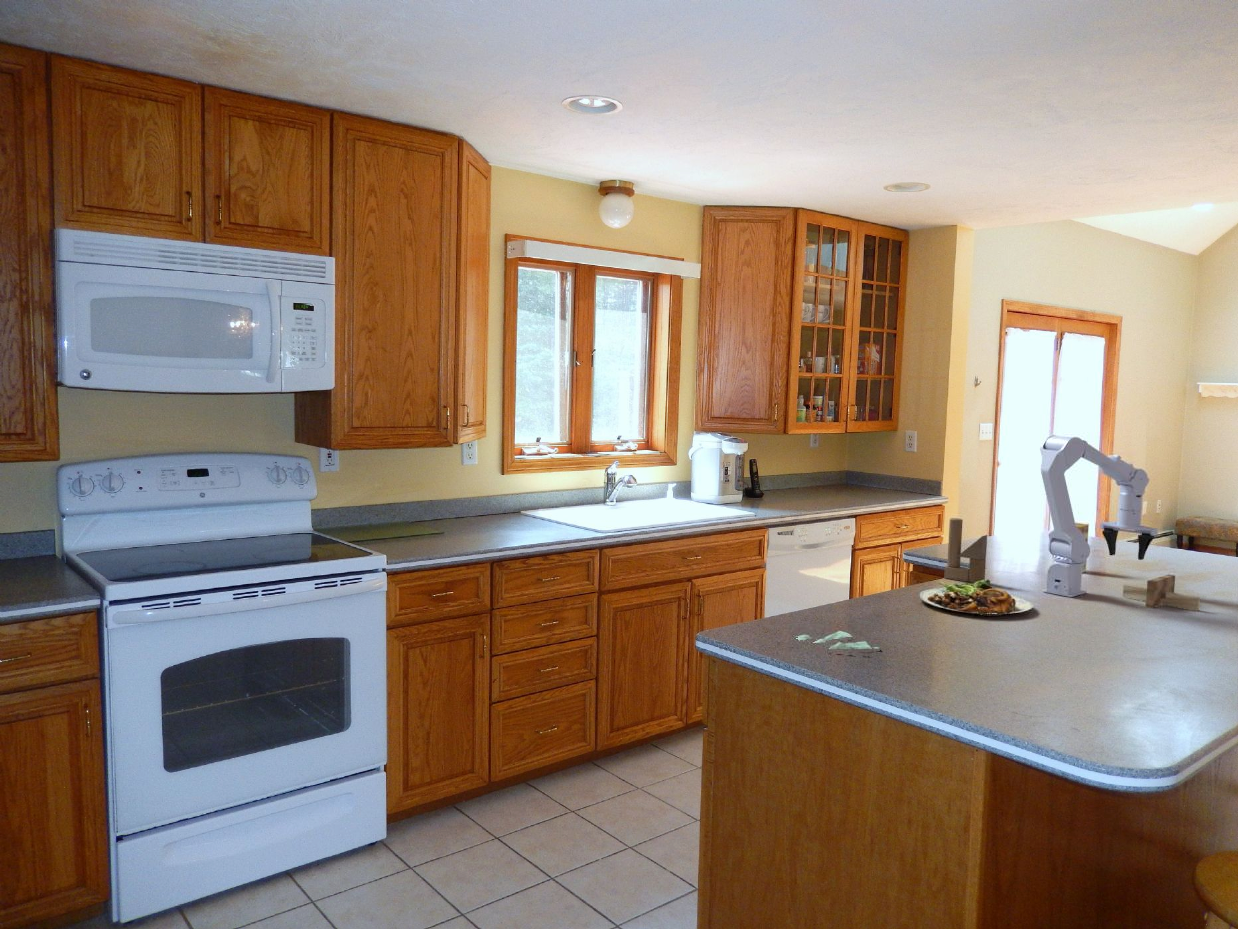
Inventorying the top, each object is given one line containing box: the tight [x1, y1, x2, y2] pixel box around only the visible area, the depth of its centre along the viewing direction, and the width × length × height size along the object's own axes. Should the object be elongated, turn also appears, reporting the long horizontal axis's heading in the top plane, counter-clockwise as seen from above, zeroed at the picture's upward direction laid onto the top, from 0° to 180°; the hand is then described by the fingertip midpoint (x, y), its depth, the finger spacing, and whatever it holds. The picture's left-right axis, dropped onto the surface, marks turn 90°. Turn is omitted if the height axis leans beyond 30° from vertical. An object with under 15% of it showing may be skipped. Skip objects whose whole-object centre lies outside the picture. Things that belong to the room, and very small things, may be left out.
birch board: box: [1122, 583, 1201, 612], centre depth 237 cm, size 2×18×4 cm, turn 38°
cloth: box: [796, 630, 881, 649], centre depth 194 cm, size 20×22×2 cm
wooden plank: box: [1145, 574, 1176, 609], centre depth 237 cm, size 14×2×7 cm, turn 128°
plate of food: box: [919, 578, 1035, 616], centre depth 231 cm, size 28×28×6 cm
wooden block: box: [944, 517, 988, 584], centre depth 261 cm, size 4×11×18 cm, turn 47°
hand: (1126, 557), depth 253 cm, fingers open, 7 cm apart
